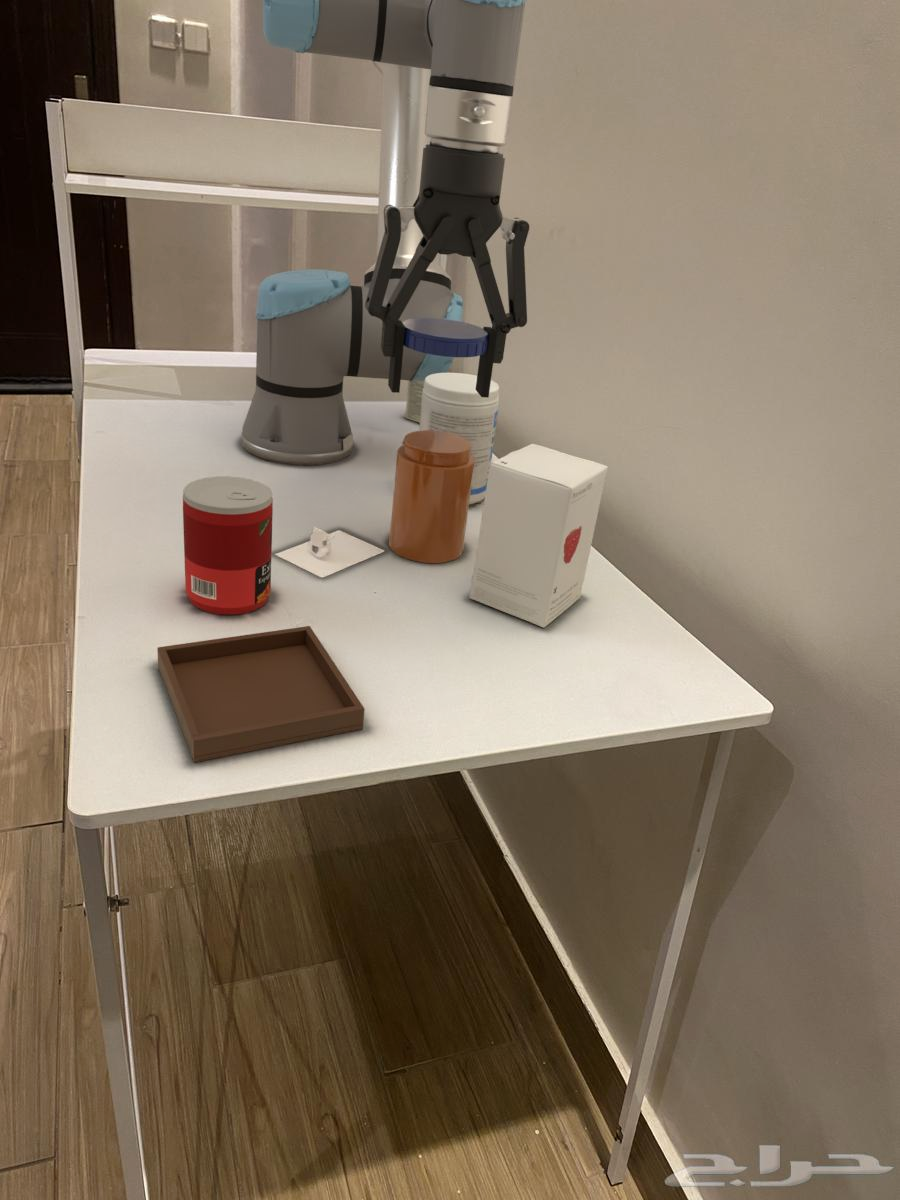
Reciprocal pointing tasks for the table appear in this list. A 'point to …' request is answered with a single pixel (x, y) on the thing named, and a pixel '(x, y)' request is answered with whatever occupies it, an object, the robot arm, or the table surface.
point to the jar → (431, 496)
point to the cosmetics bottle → (414, 400)
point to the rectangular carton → (536, 532)
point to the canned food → (227, 544)
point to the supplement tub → (463, 419)
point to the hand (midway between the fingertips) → (438, 391)
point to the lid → (445, 337)
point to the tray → (256, 692)
